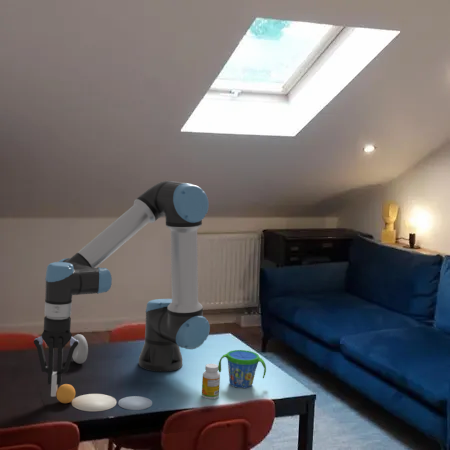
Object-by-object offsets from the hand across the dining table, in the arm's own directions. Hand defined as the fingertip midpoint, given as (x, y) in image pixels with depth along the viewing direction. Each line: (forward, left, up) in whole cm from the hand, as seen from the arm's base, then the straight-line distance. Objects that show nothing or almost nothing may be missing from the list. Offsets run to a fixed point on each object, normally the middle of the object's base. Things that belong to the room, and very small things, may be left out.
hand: (53, 394), depth 201 cm
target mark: (-12, 0, -2) cm, 12 cm away
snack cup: (-58, -17, -3) cm, 60 cm away
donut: (-4, -35, -3) cm, 35 cm away
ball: (-3, 0, 0) cm, 3 cm away
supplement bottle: (-47, -7, -3) cm, 47 cm away
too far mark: (-24, 0, -2) cm, 24 cm away
